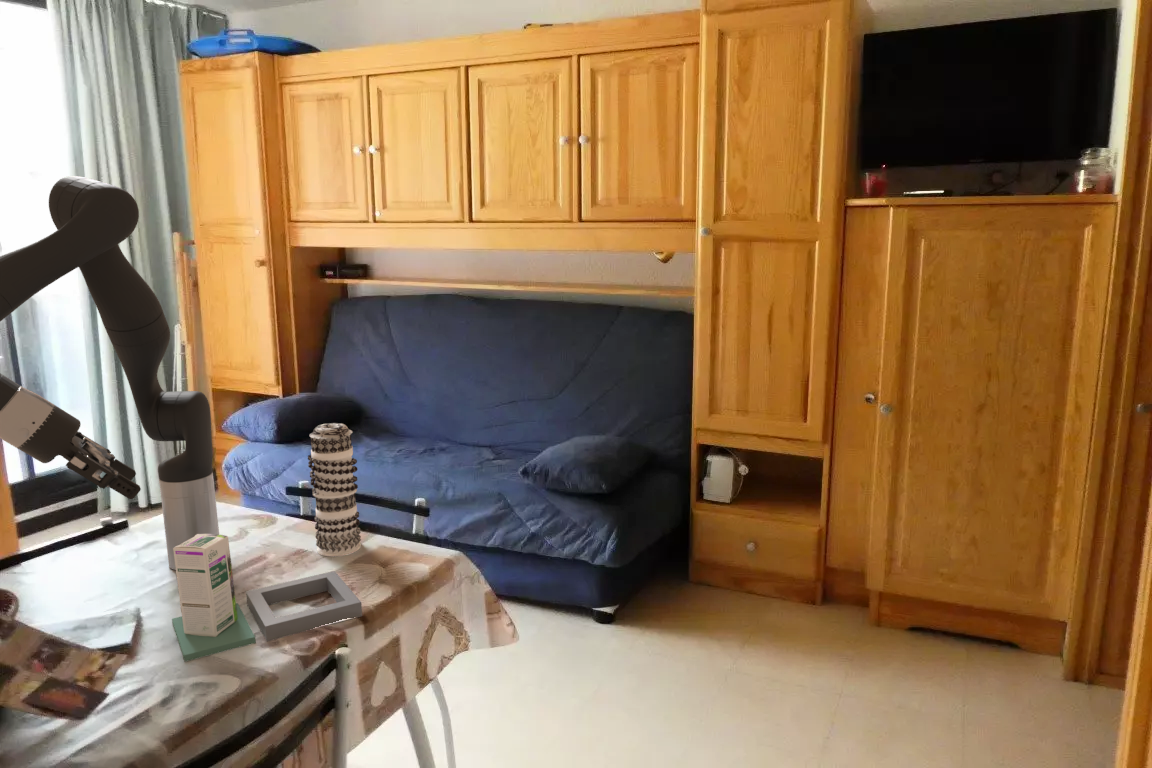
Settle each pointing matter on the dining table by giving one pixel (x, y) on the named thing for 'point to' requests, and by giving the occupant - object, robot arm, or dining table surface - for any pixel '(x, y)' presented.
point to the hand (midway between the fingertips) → (134, 485)
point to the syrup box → (205, 584)
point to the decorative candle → (334, 490)
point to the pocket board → (306, 619)
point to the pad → (214, 638)
